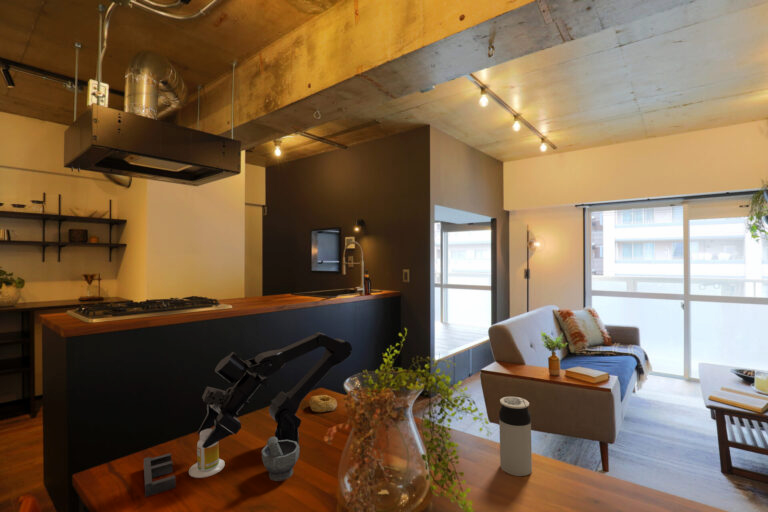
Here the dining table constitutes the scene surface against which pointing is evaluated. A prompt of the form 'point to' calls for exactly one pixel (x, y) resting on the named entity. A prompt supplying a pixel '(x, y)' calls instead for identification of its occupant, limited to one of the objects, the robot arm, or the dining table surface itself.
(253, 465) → the dining table surface
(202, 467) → the supplement bottle
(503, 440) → the travel mug
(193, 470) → the coaster
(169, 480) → the rail
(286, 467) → the mortar and pestle
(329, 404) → the bagel
